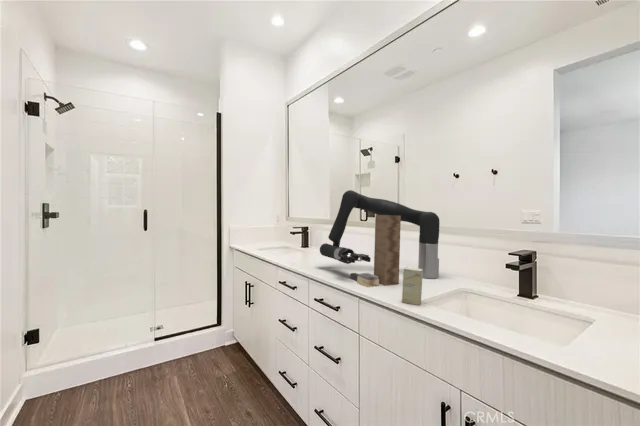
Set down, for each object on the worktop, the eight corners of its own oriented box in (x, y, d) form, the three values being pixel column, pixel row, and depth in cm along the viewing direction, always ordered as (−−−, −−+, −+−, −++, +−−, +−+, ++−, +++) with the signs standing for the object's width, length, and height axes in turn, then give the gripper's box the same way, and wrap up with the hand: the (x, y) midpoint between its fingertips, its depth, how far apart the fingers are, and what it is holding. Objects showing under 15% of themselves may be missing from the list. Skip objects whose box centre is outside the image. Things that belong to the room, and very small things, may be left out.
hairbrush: (358, 277, 142) (358, 269, 142) (378, 286, 127) (379, 276, 127) (347, 278, 139) (347, 270, 139) (367, 287, 124) (367, 277, 124)
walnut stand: (387, 280, 139) (389, 215, 138) (398, 284, 131) (400, 215, 131) (373, 281, 135) (375, 214, 135) (384, 285, 128) (386, 215, 128)
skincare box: (401, 302, 104) (402, 268, 104) (404, 299, 108) (405, 266, 108) (420, 305, 101) (421, 270, 101) (422, 302, 105) (422, 268, 105)
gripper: (332, 248, 145) (349, 252, 130) (356, 247, 151) (375, 251, 137) (331, 263, 145) (348, 269, 130) (355, 261, 151) (374, 267, 137)
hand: (362, 260), depth 133 cm, fingers open, 8 cm apart
